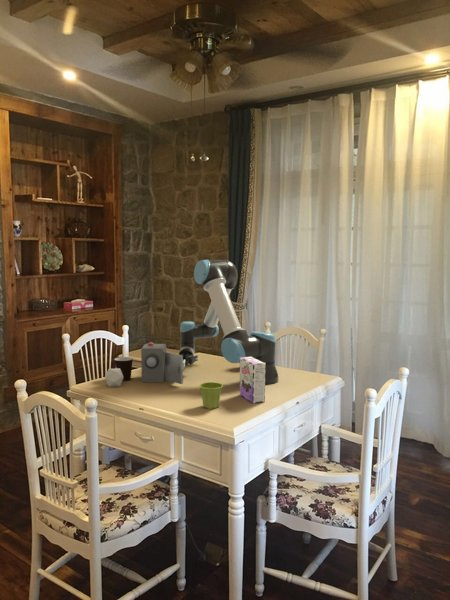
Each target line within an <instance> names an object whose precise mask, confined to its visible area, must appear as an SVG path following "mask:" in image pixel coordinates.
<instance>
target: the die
mask: <svg viewBox="0 0 450 600" xmlns="http://www.w3.org/2000/svg"><path fill="white" fill-rule="evenodd" d="M104 378H105V382H106V384H107V387H109V388H115V387H121V385H122V383H123V381H122V380H123V378H124V377H123V374H122V372H121V370H120V368H108V369H107V371H106V374H105V375H104Z"/></svg>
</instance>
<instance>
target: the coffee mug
mask: <svg viewBox="0 0 450 600" xmlns="http://www.w3.org/2000/svg"><path fill="white" fill-rule="evenodd" d="M113 361H114V366H115V368H120V370H121V372H122V374H123V377H124V378H123V380H122V382H128V381H131V379H132V372H133V371H132V370H133V369H132V368H133V357H129V356H119V357H115V358H114V359H113ZM115 368H114V369H115Z"/></svg>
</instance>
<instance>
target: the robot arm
mask: <svg viewBox="0 0 450 600" xmlns="http://www.w3.org/2000/svg"><path fill="white" fill-rule="evenodd" d="M238 274H239V273H238V270H237V267H236V265H235V264H234V263H233V262H231V261H230V260H227V259H202V260H199V261H197V263H196V264H195V266H194V271H193V279H194V281H195V283H196V284H197V285H198V284H199V285H202V288H203V290H204V291H205V292H207V293H208V294H209V295H208V296H209V298H210V300H211V301H210V304H209V307H208V309H207V311H206V314H205V317H204V320H203V322H202V323H201V324H195V322H194V321H182V322H180V327H179V328H180V329H179V330H180V331H179V332H180V333H179V334H180V342H179V343H180V348H179V349H180V350H179V352H178V354H179V355H183V369H185V368H186V366H188V365H191V366H192V365H193V364H194V363H196V362H198V360H199V355H195V353H196V348H195V342H196V340H197V339H198V340H199V339H207V338H209V339H210V338H214V337H217V336H218V335H219V332H220V331H219V330H220V328H219V325H218V324H220V326H221V330H222V332H223V337H222V342H221V346H220V347H221V348H220V349H221V350H220V351H221V354H222V356H223V358H224V359H225V360H226V361H227V362H229V363H231V364H240V358H241V357H253V358H255V359H257V360H259V361H261V362H263V363H266V367H265V385H268V384H269V385H273V384H275V383H278V382H279V374H278V370H277V367H276V344H277V343H276V336H275V335H274V334H273V333H271V332H263V331H251V332H250V333H249V334H250V335H249V334H248V332H247V330H246V329H244V328H242V326H241V323H240V320H239V318H238V316H237V313H236V310H235V307H234V305H233V303H232V301H231V298H230V294H231V292H232V290H233V289H235V287H236V285H237V283H238Z"/></svg>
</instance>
